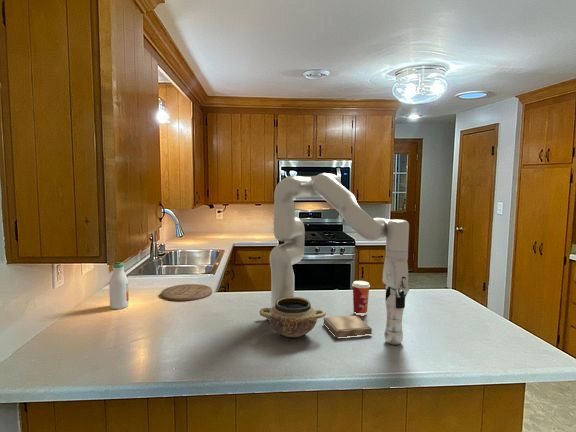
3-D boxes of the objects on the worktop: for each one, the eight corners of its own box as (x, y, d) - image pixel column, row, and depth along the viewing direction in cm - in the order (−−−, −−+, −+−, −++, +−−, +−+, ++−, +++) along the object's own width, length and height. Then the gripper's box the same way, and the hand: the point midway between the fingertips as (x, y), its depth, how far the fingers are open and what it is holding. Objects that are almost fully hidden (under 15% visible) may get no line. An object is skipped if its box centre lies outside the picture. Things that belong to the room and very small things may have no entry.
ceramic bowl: (255, 348, 131) (253, 312, 126) (266, 319, 147) (264, 286, 142) (324, 354, 127) (324, 317, 122) (327, 323, 143) (327, 290, 138)
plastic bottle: (381, 344, 129) (384, 289, 127) (386, 337, 135) (388, 284, 133) (400, 348, 126) (403, 292, 124) (404, 341, 132) (406, 287, 130)
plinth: (336, 339, 133) (336, 330, 132) (323, 325, 146) (323, 317, 146) (371, 336, 136) (371, 327, 136) (356, 322, 149) (356, 314, 149)
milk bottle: (123, 309, 161) (122, 265, 159) (106, 309, 161) (105, 265, 159) (131, 304, 168) (130, 261, 167) (115, 303, 168) (114, 261, 167)
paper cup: (364, 318, 154) (365, 286, 153) (348, 314, 159) (349, 283, 158) (372, 313, 160) (373, 282, 159) (356, 309, 165) (357, 279, 164)
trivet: (217, 288, 197) (217, 285, 197) (202, 303, 172) (202, 299, 172) (173, 286, 199) (173, 283, 199) (152, 300, 175) (152, 297, 174)
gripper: (375, 250, 135) (373, 298, 136) (400, 260, 118) (398, 313, 120) (393, 250, 137) (392, 296, 138) (420, 259, 120) (418, 312, 121)
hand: (394, 304), depth 129 cm, fingers closed on plastic bottle, 6 cm apart
